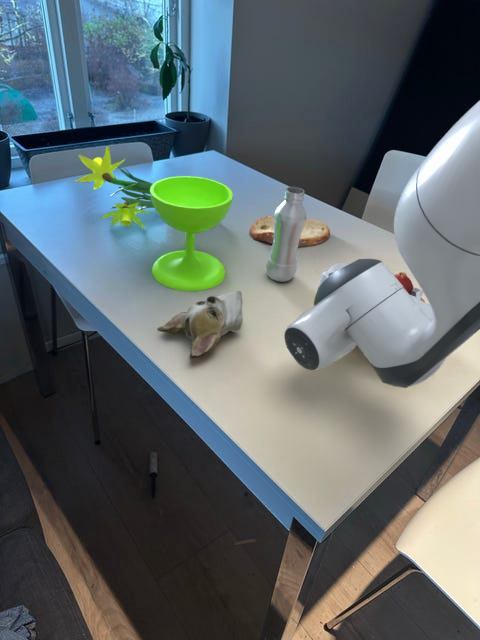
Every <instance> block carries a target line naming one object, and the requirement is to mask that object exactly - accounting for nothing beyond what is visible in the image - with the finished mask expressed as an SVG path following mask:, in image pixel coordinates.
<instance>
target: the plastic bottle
mask: <svg viewBox="0 0 480 640" xmlns="http://www.w3.org/2000/svg"><path fill="white" fill-rule="evenodd" d="M304 196H305V190H304V189H303V188H301V187H298V186H288V187H286V188H285V193H284V195H283V199H284V201H282V202H281V203H280V204H279V206H277V207H276V209H275V212H274V239H273V244H271V245H272V246H271V250H270V254H269V257H268V259H267V262H266V274H267V275H268V277H269V279H272V280H274V281H276V282H288V281H290V280H292V278H294V277H295V275H296V272H297V269H298V267H297V266H298V260H297V258H298V249H299V247H298V244H299V240H300V236H301V233H302V230H303V227H304V224H305V221H306V219H307V212H306V210H305V206H304V205H303V202H304V199H305V197H304Z"/></svg>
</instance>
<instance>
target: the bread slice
mask: <svg viewBox="0 0 480 640" xmlns="http://www.w3.org/2000/svg"><path fill="white" fill-rule="evenodd" d="M248 235H249V236H250V237H251V238H252V239H253V240H255V241H261V242H265V243H267V244H270V245H273V239H274V216H273V215H270V216H269V215H266V216H263V217H260V218H258V219H257V220H256V221H255V222H253V223H252V225H251V226H250V229H249V232H248ZM330 237H331V230H330V227H328V225H327V224H326V223H325V222H323V221H321V220H315V219H308V218H306V221H305V224H304V227H303V230H302V233H301V236H300V240H299V244H298V248H300V247H312V246H316V245H320V244H323V243H325V242H327V241H328V240H329V239H330Z"/></svg>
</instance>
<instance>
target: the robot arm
mask: <svg viewBox="0 0 480 640" xmlns="http://www.w3.org/2000/svg"><path fill="white" fill-rule="evenodd" d="M393 232H394V239H395V244H396V246H397V250H398V252H399V254H400V256H401V258H402V259H403V261H404V263H405V265H406V266H407V268H408V270H409V271H410V273H411V275H412V276H413V277H414V279H415V281H416V283H417V284H418V286H419V288H420V289H419V288H417V287H414V289H413V290H412V291H411V295H410V294H409V293H408V292H407V291H406V290H405V289H404V288H403V285H402V284H401V283H400V282H399V281H398V279H397V278H396V277H395V276H394V275H395V274H394V273H393V272H392V271H391V270H390V268H389V267H387V265H386V264H385V263H384V262H383V261H382V260H380V259H375V258H358V259H357V260H355V261H353V262H350V263H349V262H343V261H340V262H338V263H337V262H336V263H335V264H334V265H332V266H331V267H329V268H328V270H325V271H323V272H322V273H321V276H320V279H319V282H318V286H317V290H316V294H315V296H314V299H313V306H312V307H310V308H309V309H307V310H306V311H304V312H303V313H302V314H300V315H299V316H298V317H296V319H295V320H293V322H291V323H290V324H289V325H287V327H286V329H285V331H284V335H283V336H284V343H285V346H286V349H287V350H288V352H289V354H290V355H291V356H292V358H293V359H294V360H295V361H296V362H297V364H298V365H299V366H301V367H302V368H303V369H306V370H307V371H313V372H314V371H318V370H321V369H323V368H325V367H328V366H330V365H331V364H334V363H335V362H337V361H339V360H341V359H342V358H344V357H346V356H347V355H348V354H350V353H351V352H352V351H353V350H354V349H356V347H358V348H359V350H360V351H361V352H362V353H363V355H364V356H365V357H366V359H367V360H368V362H369V364H370V365H371V367H372V369H373V370H374V372H375V373H376V375H377V376H378V378H379V379H380V380H381V382H382V383H383V384H386V385H389V386H393V387H397V388H403V389H407V388H409V387H413V386H417V385H419V384H422V383H423V382H425V381H427V380H428V379H429V378H431V377H432V376H433V375H434V374H436V373H437V372H438V370H439V369H440V368H441V367H442V366H443V364H444V363H445V362H446V359H447V358H448V357H449V356H450V355H452V354H453V353H454V352H455V351H456V350H457V349H459V348H460V347H461V346H462V345H464V344H465V343H466V342H467V341H468V340H469V339H471V338H472V337H473V336H474V335H475V334H476V333H477V332H478V331H480V100H478V101H477V102H476V103H475V104H474V105H473V106H472V107H471V108H469V109H468V111H466V113H464V114H463V116H461V117H460V118H459V119H458V121H456V122H455V123H454V124H453V125H452V127H450V129H449V130H448V131H447V132H446V133H445V134H444V136H443V137H442V138H441V139H440V140H439V141H438V142H437V143H436V145H434V146H433V148H432V149H431V150H430V152H429V153H428V154H427V155H426V157H425V158H424V159H423V160H422V161H421V162H420V164H419V166H418V167H417V168H416V170H415V171H414V172H413V174H412V175H411V177H410V178H409V180H408V181H407V183H406V185H404V188H403V190H402V191H401V194H400V196H399V198H398V201H397V205H396V208H395V213H394V219H393ZM423 295H424V296H425V298H426V300H427V302H428V303H427V302H426V301H425V302H423V301H421V298H422V296H423Z"/></svg>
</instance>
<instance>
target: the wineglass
mask: <svg viewBox="0 0 480 640" xmlns="http://www.w3.org/2000/svg"><path fill="white" fill-rule="evenodd" d="M152 183H153V184H152V186H151V187H150V194H149V196H151V201H152V203H153V205H154V210H155V212H156V214H157V215H158V217H159V218H160V219H161V220H162V221H163V222H164V223H165V224H166V225H167V226H169V227H171V228H172V229H174V230H177V232H181V233H185V242H184V243H185V244H184V245H185V246H184V248H185V249H181V250H175V251H170V252H167V253H165V254H163V255H161V256H159V257H158V258H157V259H156V260H155V261H154V263H153V265H152V267H151V274H152V277H153V279H155V280H156V281H157V282H158V283H159V284H161V285H162V286H164V287H166V288H169V289H172V290H176V291H180V292H181V291H182V292H201V291H207V290H210V289H213V288H215V287H216V286H218V285H221V283H222V282H223V281H224V280H225V278H226V269H225V266H224V264H223V263H222V262H221V261H220V260H219V259H218V258H217V257H215V256H213V255H211V254H209V253H206V252H203V251H200V250H199V251H198V250H195V247H196V246H195V243H196V234H199V233H200V234H201V233H204V232H206V231H209V230H211V229H213V228H215V227H217V225H218V224H220V223H221V222H222V221H223V220H224V219H225V217H226V216H227V214H228V213H229V210H230V208H231V205H232V201H233V198H234V194H233V191H232V189H230V187H229V186H227V185H225V184H224V183H223V182H219V181H217V180H215V179H210V178H207V177H201V176H194V175H177V176H175V175H174V176H169V177H165V178H161V179H159V180H157V181H154V182H152Z"/></svg>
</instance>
